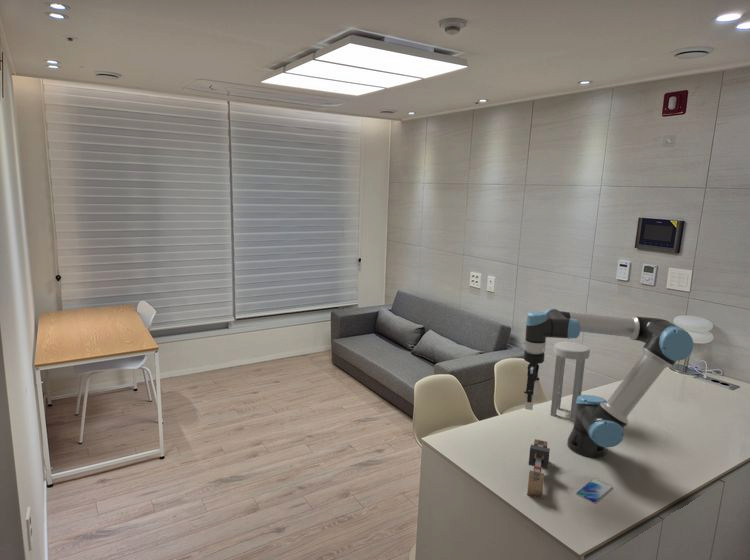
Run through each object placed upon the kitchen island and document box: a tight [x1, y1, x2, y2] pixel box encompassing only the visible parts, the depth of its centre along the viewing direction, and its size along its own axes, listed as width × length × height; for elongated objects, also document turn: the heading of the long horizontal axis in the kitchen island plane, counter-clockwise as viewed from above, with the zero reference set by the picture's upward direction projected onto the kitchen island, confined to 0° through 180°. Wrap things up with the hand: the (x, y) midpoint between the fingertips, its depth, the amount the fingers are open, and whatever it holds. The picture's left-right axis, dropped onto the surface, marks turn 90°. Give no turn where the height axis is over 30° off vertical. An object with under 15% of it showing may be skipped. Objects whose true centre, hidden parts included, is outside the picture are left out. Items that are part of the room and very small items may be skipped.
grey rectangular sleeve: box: [528, 444, 551, 470], centre depth 183 cm, size 7×3×7 cm, turn 68°
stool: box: [549, 341, 591, 422], centre depth 233 cm, size 16×16×35 cm
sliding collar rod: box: [526, 439, 549, 499], centre depth 182 cm, size 5×28×8 cm, turn 158°
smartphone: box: [575, 478, 613, 505], centre depth 175 cm, size 7×1×15 cm
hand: (530, 402), depth 190 cm, fingers open, 13 cm apart
